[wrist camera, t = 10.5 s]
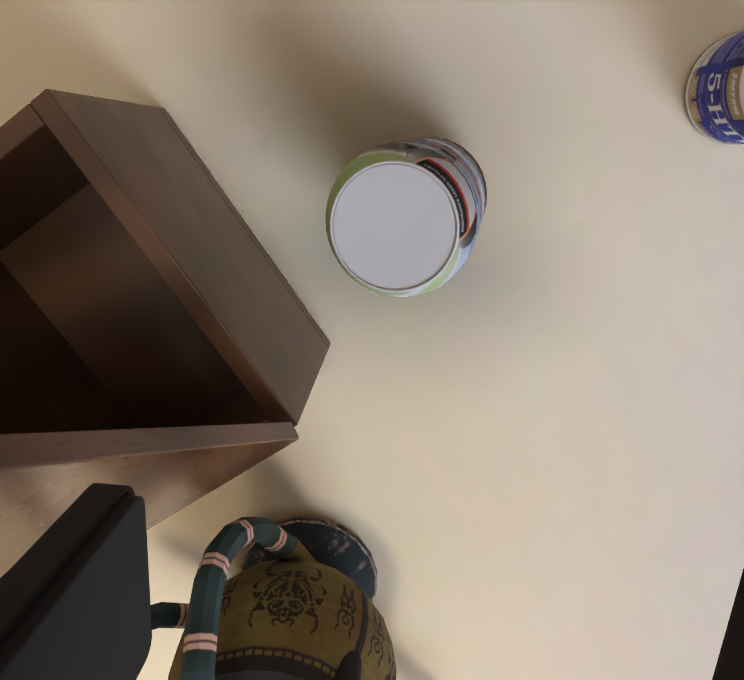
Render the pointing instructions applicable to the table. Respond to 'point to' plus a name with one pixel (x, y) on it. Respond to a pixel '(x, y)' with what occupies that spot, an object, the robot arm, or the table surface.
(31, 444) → the lid
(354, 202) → the beverage can
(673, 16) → the table surface
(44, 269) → the chest
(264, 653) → the teapot
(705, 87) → the pill bottle
